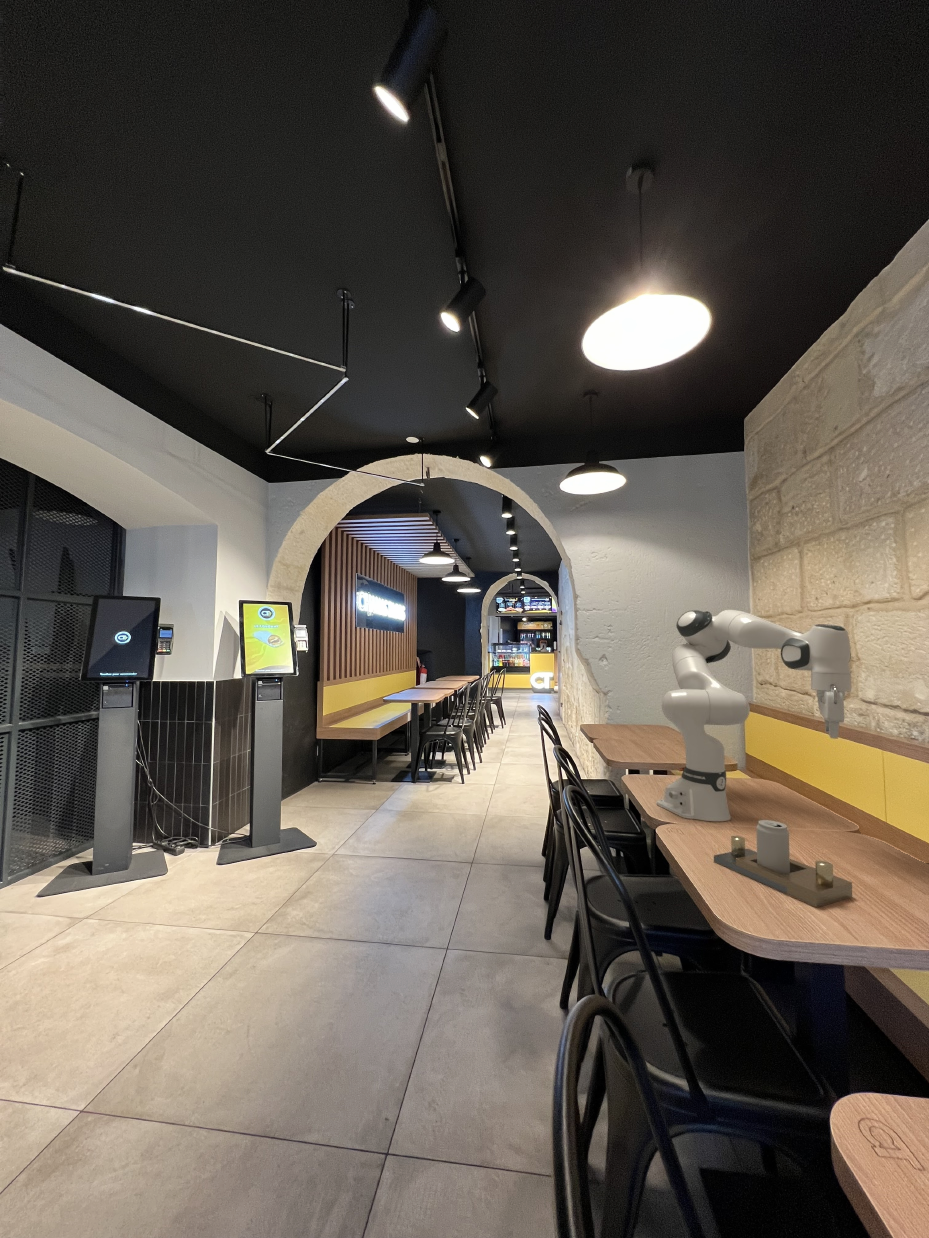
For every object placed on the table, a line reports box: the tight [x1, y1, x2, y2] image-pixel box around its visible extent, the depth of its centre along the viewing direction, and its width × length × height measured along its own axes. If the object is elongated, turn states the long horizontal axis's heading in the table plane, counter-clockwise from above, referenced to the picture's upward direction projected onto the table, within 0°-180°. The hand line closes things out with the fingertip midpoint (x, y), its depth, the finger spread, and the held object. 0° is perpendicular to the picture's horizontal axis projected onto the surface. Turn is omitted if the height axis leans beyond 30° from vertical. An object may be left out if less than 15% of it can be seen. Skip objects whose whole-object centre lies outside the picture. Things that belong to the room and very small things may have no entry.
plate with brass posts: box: [713, 835, 853, 909], centre depth 116 cm, size 24×12×7 cm, turn 25°
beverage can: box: [756, 819, 791, 874], centre depth 117 cm, size 6×6×12 cm
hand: (831, 735), depth 138 cm, fingers open, 8 cm apart
